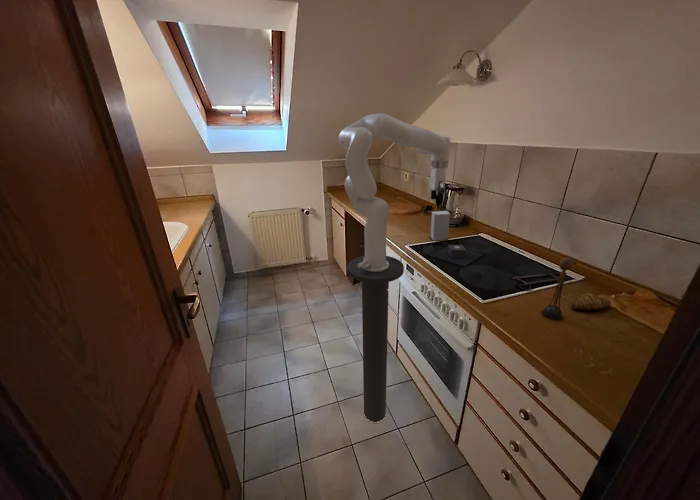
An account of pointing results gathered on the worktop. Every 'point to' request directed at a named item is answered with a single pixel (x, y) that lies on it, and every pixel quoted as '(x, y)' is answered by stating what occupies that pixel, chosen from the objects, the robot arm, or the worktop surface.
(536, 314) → the worktop surface
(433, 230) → the cosmetic box
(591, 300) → the croissant
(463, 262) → the mat
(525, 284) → the hacksaw
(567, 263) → the wooden tabletop sculpture
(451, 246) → the tape measure
